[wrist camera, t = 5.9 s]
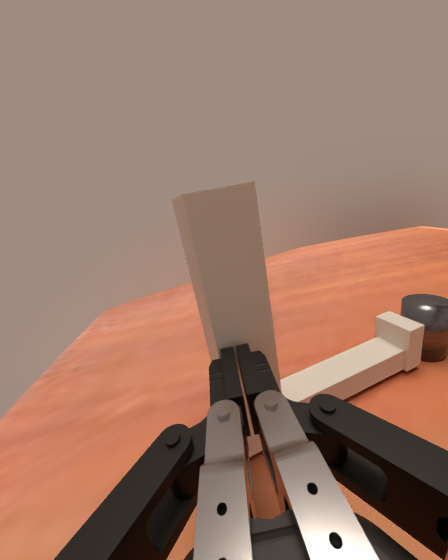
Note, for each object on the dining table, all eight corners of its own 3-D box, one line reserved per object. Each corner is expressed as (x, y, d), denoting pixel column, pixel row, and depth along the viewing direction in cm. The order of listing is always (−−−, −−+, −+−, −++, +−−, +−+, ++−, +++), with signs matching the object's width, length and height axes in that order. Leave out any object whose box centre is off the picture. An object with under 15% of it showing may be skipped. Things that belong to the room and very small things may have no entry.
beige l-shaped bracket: (384, 345, 23) (394, 158, 18) (423, 366, 20) (450, 145, 14) (208, 426, 18) (145, 204, 13) (222, 471, 15) (147, 200, 10)
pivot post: (400, 334, 25) (404, 291, 23) (447, 343, 22) (455, 297, 21) (395, 354, 22) (399, 307, 21) (447, 366, 20) (455, 315, 18)
